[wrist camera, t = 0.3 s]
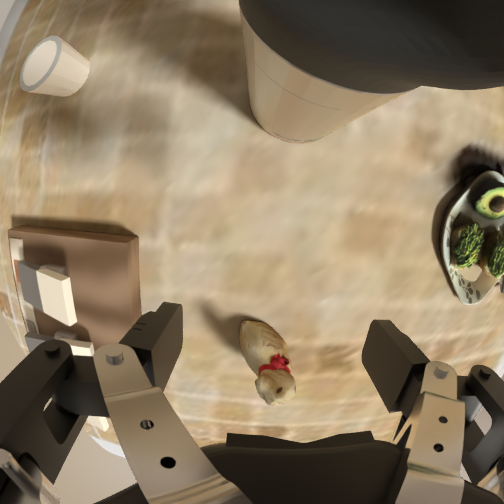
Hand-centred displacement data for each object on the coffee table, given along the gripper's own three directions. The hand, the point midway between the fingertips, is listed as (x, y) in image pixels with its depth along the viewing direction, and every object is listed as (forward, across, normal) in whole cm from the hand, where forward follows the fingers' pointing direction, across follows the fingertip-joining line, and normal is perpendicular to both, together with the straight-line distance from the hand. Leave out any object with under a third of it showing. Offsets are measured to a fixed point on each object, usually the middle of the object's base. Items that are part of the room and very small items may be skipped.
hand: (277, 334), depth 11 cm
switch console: (+18, +24, +15) cm, 33 cm away
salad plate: (+18, -30, -5) cm, 35 cm away
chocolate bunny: (+18, -2, +12) cm, 22 cm away
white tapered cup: (+17, +25, -19) cm, 36 cm away
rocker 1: (+12, +24, +6) cm, 27 cm away
